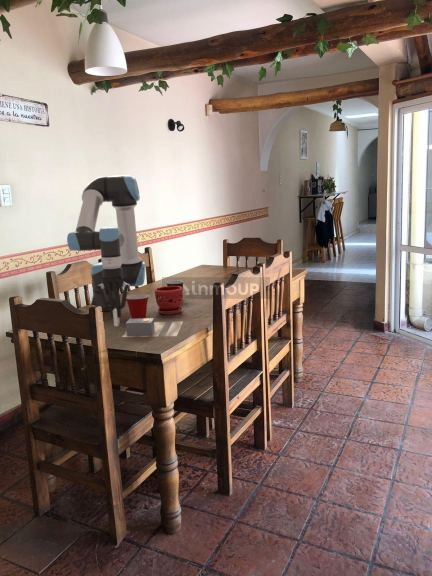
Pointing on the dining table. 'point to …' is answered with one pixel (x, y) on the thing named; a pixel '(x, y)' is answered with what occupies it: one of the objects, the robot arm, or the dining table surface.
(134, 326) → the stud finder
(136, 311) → the plastic cup
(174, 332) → the plywood panel
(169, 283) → the coffee mug
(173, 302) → the plant pot
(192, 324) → the dining table surface
